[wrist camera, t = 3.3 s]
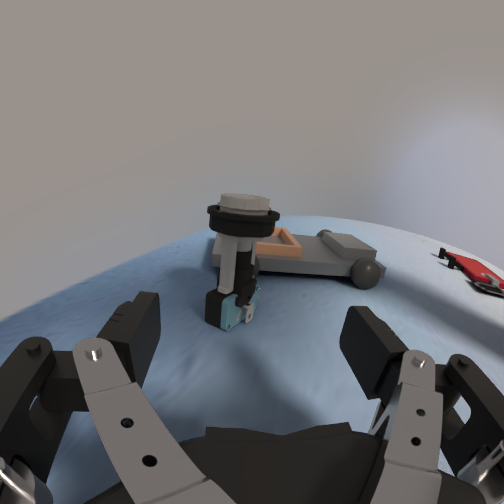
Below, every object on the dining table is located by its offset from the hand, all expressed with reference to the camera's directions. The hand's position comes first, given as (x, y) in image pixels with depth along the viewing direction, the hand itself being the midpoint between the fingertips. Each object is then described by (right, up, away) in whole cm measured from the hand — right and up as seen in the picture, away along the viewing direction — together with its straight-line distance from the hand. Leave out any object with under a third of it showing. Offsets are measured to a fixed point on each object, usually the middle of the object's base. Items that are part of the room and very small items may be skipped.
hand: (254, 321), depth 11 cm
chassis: (+6, +1, +28) cm, 28 cm away
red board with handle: (+48, -3, +33) cm, 59 cm away
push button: (-1, -3, +12) cm, 13 cm away
